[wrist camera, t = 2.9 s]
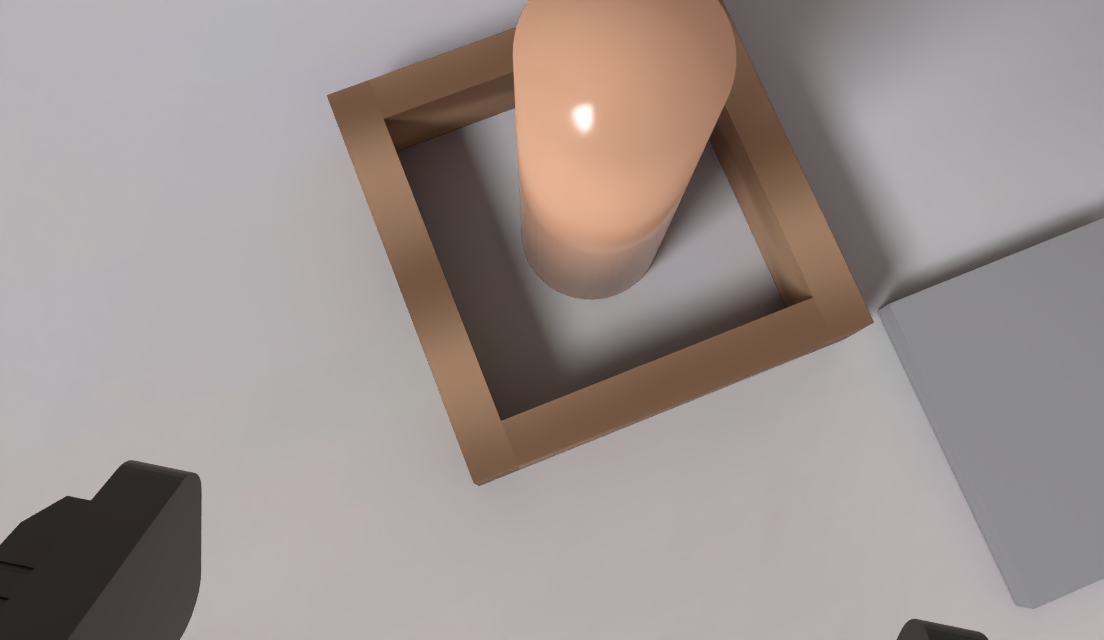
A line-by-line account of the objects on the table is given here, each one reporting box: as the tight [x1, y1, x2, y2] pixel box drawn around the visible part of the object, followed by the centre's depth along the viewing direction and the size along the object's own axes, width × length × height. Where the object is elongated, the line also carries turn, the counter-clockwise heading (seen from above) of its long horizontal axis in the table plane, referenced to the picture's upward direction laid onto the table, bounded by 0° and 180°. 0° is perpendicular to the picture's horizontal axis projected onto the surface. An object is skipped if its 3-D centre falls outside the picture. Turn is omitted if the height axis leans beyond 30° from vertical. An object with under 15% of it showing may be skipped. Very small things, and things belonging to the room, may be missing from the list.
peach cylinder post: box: [513, 0, 736, 299], centre depth 29 cm, size 7×5×14 cm
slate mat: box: [877, 218, 1104, 609], centre depth 34 cm, size 11×9×1 cm
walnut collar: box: [327, 0, 874, 486], centre depth 34 cm, size 14×14×3 cm
